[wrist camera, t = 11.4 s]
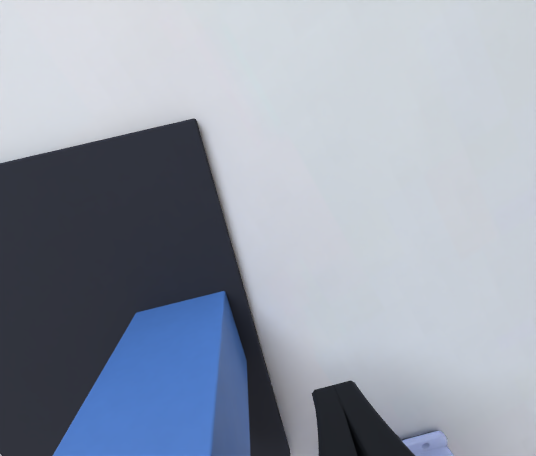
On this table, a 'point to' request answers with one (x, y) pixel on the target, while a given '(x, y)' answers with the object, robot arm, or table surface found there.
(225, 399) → the blue block
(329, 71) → the table surface
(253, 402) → the desk mat
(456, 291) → the table surface
